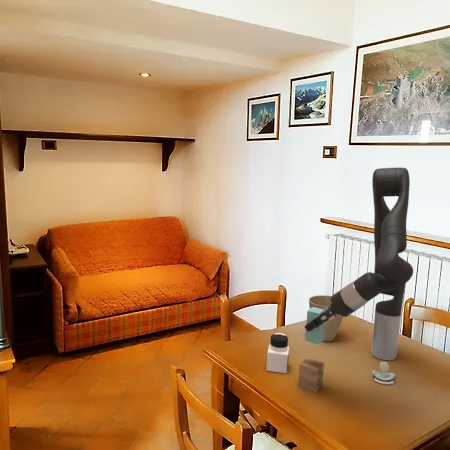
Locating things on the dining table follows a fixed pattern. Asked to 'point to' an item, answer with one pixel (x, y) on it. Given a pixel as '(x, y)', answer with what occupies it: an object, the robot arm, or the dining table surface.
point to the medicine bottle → (278, 353)
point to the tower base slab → (310, 383)
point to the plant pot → (332, 324)
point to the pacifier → (383, 374)
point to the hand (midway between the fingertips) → (309, 326)
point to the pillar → (316, 333)
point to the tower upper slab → (311, 369)
